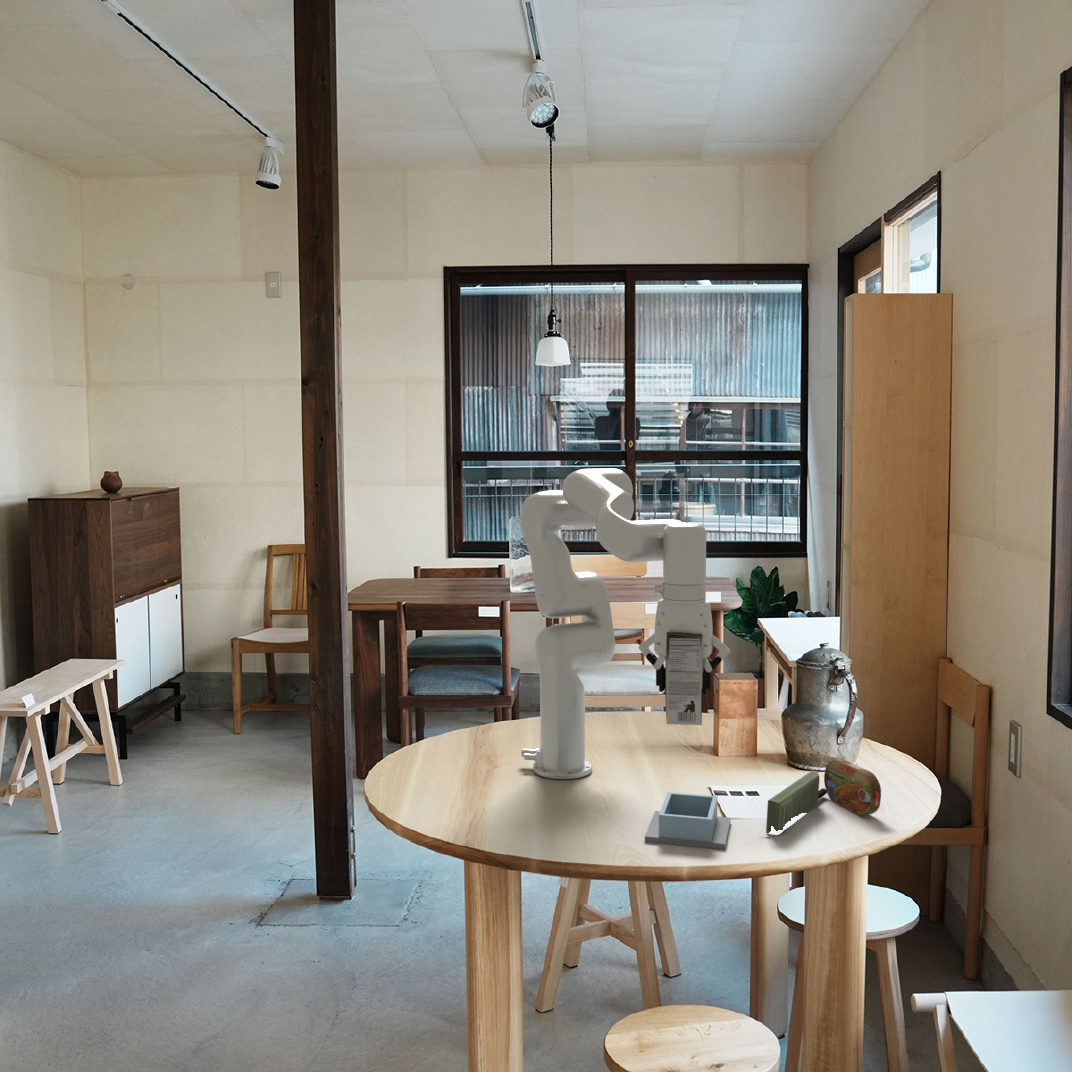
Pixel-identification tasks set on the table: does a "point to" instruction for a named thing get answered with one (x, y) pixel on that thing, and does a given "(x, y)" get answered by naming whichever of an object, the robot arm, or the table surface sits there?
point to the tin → (852, 787)
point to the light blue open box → (689, 822)
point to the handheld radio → (794, 801)
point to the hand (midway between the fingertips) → (683, 690)
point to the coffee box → (683, 678)
